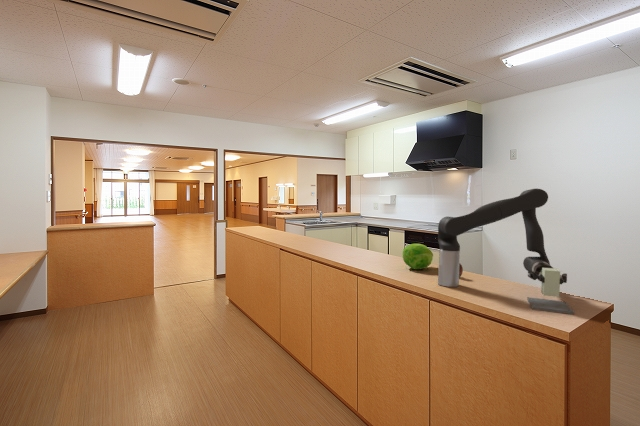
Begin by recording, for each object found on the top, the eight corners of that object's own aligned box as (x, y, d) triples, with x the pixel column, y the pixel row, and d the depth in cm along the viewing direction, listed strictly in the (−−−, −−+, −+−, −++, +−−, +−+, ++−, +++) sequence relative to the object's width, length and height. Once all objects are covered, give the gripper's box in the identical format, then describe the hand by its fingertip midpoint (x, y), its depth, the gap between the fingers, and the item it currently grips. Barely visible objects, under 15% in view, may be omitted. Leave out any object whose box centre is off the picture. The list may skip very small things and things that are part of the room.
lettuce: (438, 272, 193) (443, 247, 192) (416, 273, 182) (421, 247, 180) (415, 264, 207) (420, 241, 205) (394, 265, 195) (398, 240, 194)
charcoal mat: (532, 309, 125) (532, 306, 125) (527, 299, 137) (527, 297, 137) (573, 314, 120) (574, 311, 120) (564, 303, 132) (564, 301, 132)
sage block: (543, 295, 127) (544, 270, 126) (541, 291, 132) (542, 267, 131) (559, 297, 125) (560, 271, 124) (556, 293, 129) (557, 268, 129)
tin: (438, 272, 184) (439, 258, 183) (443, 272, 185) (443, 257, 184) (458, 279, 169) (459, 263, 169) (463, 278, 171) (464, 263, 170)
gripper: (524, 261, 144) (530, 269, 128) (563, 264, 138) (575, 273, 122) (523, 278, 144) (530, 288, 129) (563, 281, 138) (574, 292, 123)
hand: (552, 280), depth 126 cm, fingers closed on sage block, 5 cm apart
